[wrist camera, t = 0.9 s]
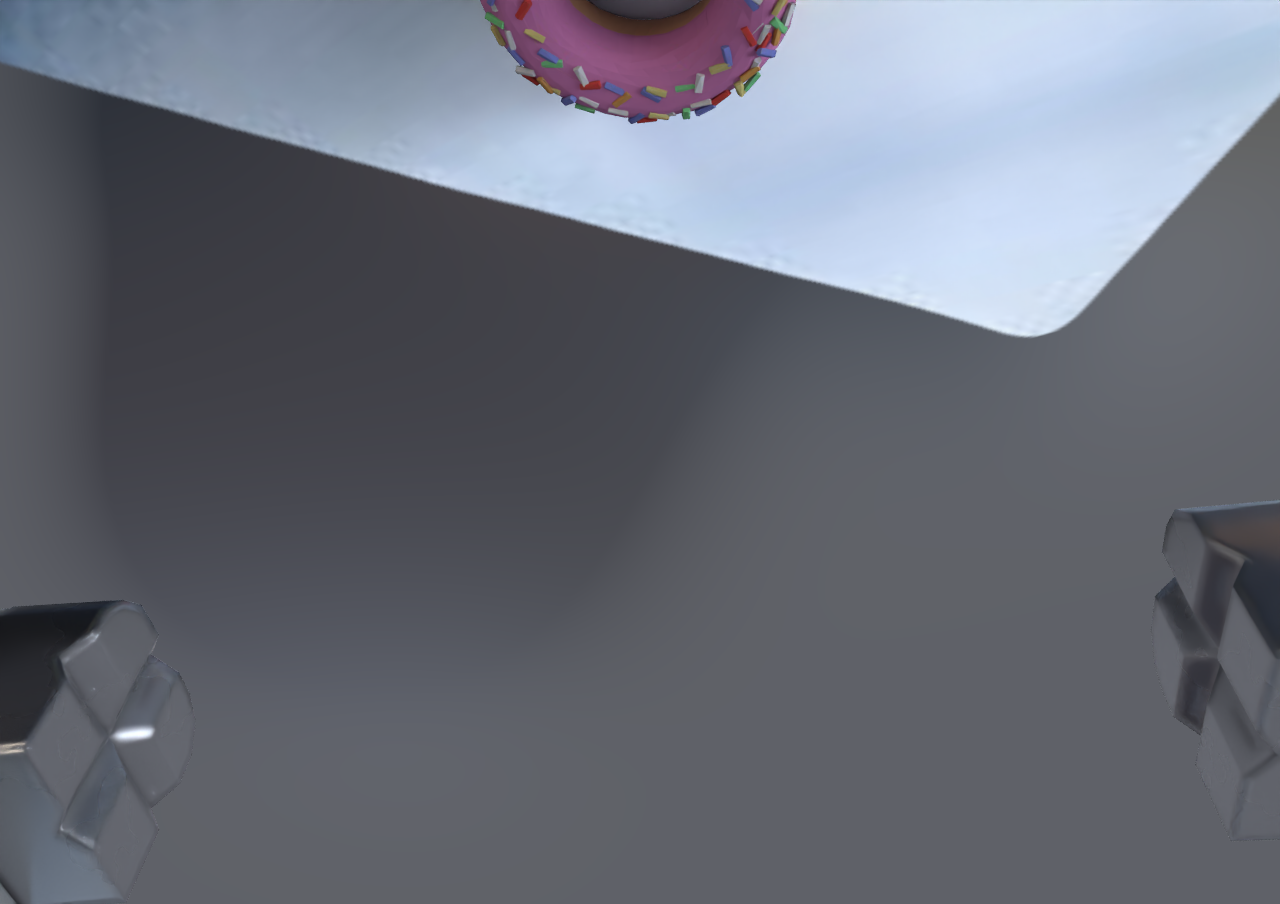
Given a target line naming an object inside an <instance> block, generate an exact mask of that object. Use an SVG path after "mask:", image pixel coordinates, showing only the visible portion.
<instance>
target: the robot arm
mask: <svg viewBox="0 0 1280 904" xmlns="http://www.w3.org/2000/svg"><path fill="white" fill-rule="evenodd" d="M1162 552H1163V554H1164V556H1165V558H1166V560H1167V562H1168V564H1169V566H1170V568H1171V570H1172V572H1173V574H1174V576H1175V577H1174V578H1173V579H1172V580H1171V581H1170V582H1169V583H1168V584H1167V585H1166V586H1165V587H1164V588H1163V589H1162V590H1161V591H1160V592H1159V593H1158V594H1157V595H1156V596H1155V601H1154V609H1153V617H1152V626H1151V633H1152V643H1153V653H1154V664H1155V667H1156V671H1157V674H1158V678H1159V681H1160V685H1161V688H1162V691H1163V694H1164V696H1165V698H1166V701H1167V703H1168V705H1169V707H1170V710H1171V712H1172V714H1173V716H1174V718H1176V719H1177V720H1179V721H1180V722H1182V723H1183V724H1185V725H1186V726H1188V727H1189V728H1190V729H1192V730H1193V731H1195V732H1197V733H1198V734H1199V735H1201V739H1200V744H1199V749H1198V754H1197V760H1196V767H1197V769H1198V771H1199V774H1200V776H1201V778H1202V780H1203V782H1204V785H1205V787H1206V789H1207V791H1208V793H1209V795H1210V797H1211V799H1212V802H1213V804H1214V805H1215V808H1216V810H1217V812H1218V815H1219V817H1220V819H1221V821H1222V823H1223V825H1224V828H1225V830H1226V832H1227V834H1228V836H1229V838H1230V840H1231V841H1247V840H1276V839H1277V840H1279V839H1280V500H1272V501H1262V502H1251V503H1241V504H1229V505H1218V506H1208V507H1197V508H1185V509H1175V510H1174V512H1173V514H1172V516H1171V518H1170V520H1169V522H1168V524H1167V526H1166V532H1165V537H1164V544H1163V549H1162ZM158 635H159V634H158V632H157V631H156V629H155V627H154V625H153V624H152V622H151V620H150V619H149V617H148V615H147V614H146V612H145V610H144V609H143V607H142V605H139V604H136V603H132V602H129V601H125V600H116V601H100V602H85V603H84V602H83V603H67V604H52V605H34V606H18V607H12V608H10V609H0V904H114V903H125V902H127V900H128V898H129V895H130V893H131V891H132V889H133V886H134V884H135V882H136V880H137V878H138V875H139V873H140V871H141V869H142V867H143V864H144V862H145V860H146V858H147V855H148V853H149V851H150V849H151V847H152V844H153V842H154V840H155V838H156V835H157V833H158V831H159V829H158V826H157V823H156V820H155V817H154V815H153V812H152V809H151V808H152V807H153V806H154V805H156V804H157V803H158V802H159V801H160V800H161V799H163V798H164V797H165V796H166V795H167V794H168V793H170V792H171V791H172V790H173V789H174V788H175V787H177V786H178V785H179V784H180V781H181V779H182V777H183V774H184V772H185V770H186V767H187V765H188V762H189V760H190V758H191V755H192V747H193V737H194V728H195V716H194V711H193V707H192V702H191V698H190V693H189V692H188V689H187V688H186V686H185V683H184V681H183V680H182V678H181V676H180V674H179V672H177V671H175V670H174V669H173V668H171V667H170V666H168V665H166V664H165V663H163V662H162V661H160V660H159V659H157V658H156V657H154V656H153V655H151V654H152V652H153V649H154V646H155V643H156V640H157V638H158Z"/></svg>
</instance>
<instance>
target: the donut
mask: <svg viewBox="0 0 1280 904" xmlns="http://www.w3.org/2000/svg"><path fill="white" fill-rule="evenodd" d="M480 1H481V4H482V6H483V8H484V10H485V12H486V15H485V19H487V20H488V21H490V23H491V25H492V26H491V31H492V32H493V34H494V36H495V38H496V40H497V42H498V43H499V45H501V46H504V47H505V48H506V49H507V51H508V52H509V53H510V54H511V55H512V56H513V58H514V59H515V60H516V61H517V62H518V63H519V64H520V66H516V70H515V71H516V73H517V74H521V75H522V76H523V77H524V78H526V79H527V80H529V81H531V82H532V83H534V84H535V85H539V84H541V85H542V87H543V88H544V89H545V90H546V91H547V92H548V93H550V94H552V93H556V94H557V95H559V96H561V97H563V98H562V99H561V102H562V103H563V104H564V105H565V106H566V105H569V104H572V103H576V105H575V108H577V109H581V110H584V111H587V112H590V113H594V112H595V110H597V111H600V112H602V113H605V114H610V115H615V116H620V117H628V118H629V119H628V121H629V122H630V123H631V124H633V123H636V122H637V123H645V122H653V121H657V119H663V120H668V119H669V116H676V114H679V113H682V116H683V119H690V111H694V110H695V114H696V116H700V115H702V114H704V113H706V112H708V111H710V110H712V109H713V108H715V107H716V105H717V104H719V103H720V102H721V101H722V100H724V99H725V98H726V97H728V96H729V95H730V94H731V92H730V90H732V89H733V88H735V89H736V91H737V94H738V95H739V96H741V97H743V96H744V94H745V93H746V92H747V91H748V90H749V89H750V88H751V86H752V85H753V84H754V83H755V82H756V81H757V79H758V78H759V77H760V76H761V75H760V73H759V72H758V71H759V70H761V69H760V68H761V67H762V66H763V65H764V64H765V62H766V61H767V60H768V58H773V57H775V54H776V51H777V50H775V49H776V48H777V47H778V45H779V44H780V42H781V41H782V39H783V37H784V36H785V34H786V32H787V31H788V29H789V27H790V24H791V20H792V16H793V12H794V9H795V6H796V4H795V3H796V0H702V1H700V2H699V3H698V4H696V5H695V6H693V7H692V8H690V9H688V10H686V11H684V12H682V13H680V14H677V15H673V16H670V17H666V18H663V19H651V20H638V19H630V18H626V17H621V16H617V15H615V14H612V13H609V12H607V11H604V10H601V9H599V8H598V7H596V6H595V5H593V4H592V3H590V2H589V1H587V0H480ZM522 65H523V66H524V67H521V66H522ZM747 80H748V81H747ZM745 81H747V82H746V83H745V84H744V85H743V82H745Z"/></svg>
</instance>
